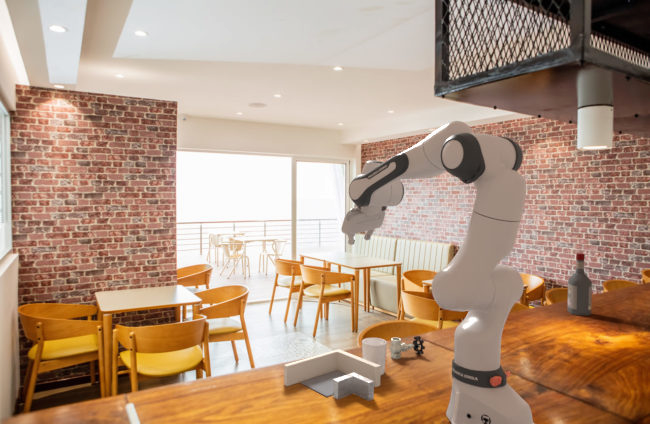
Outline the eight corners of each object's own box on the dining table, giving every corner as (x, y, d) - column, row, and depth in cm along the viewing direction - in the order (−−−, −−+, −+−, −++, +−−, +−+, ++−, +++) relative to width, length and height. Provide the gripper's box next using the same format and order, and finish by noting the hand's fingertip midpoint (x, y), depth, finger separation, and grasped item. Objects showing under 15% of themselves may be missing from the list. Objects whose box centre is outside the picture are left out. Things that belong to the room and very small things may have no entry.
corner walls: (380, 385, 130) (380, 365, 130) (324, 407, 115) (324, 385, 115) (338, 367, 144) (338, 349, 144) (283, 384, 129) (284, 364, 129)
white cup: (366, 378, 135) (367, 346, 135) (358, 368, 143) (358, 338, 142) (390, 375, 137) (390, 344, 137) (380, 366, 145) (380, 336, 144)
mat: (364, 383, 131) (364, 382, 131) (326, 397, 122) (326, 396, 122) (337, 371, 140) (337, 370, 140) (300, 383, 131) (300, 382, 131)
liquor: (572, 315, 215) (573, 254, 214) (566, 310, 224) (567, 252, 223) (592, 316, 213) (594, 255, 212) (585, 311, 222) (587, 253, 221)
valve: (395, 361, 150) (424, 357, 154) (395, 342, 150) (425, 338, 154) (385, 355, 156) (414, 351, 160) (386, 336, 156) (414, 333, 160)
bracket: (353, 389, 127) (353, 372, 127) (373, 398, 121) (373, 381, 121) (332, 397, 122) (333, 379, 122) (352, 407, 116) (353, 388, 116)
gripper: (356, 212, 142) (347, 250, 146) (390, 205, 157) (382, 240, 161) (341, 205, 145) (333, 243, 150) (376, 199, 161) (368, 234, 165)
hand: (359, 241), depth 156 cm, fingers open, 8 cm apart
